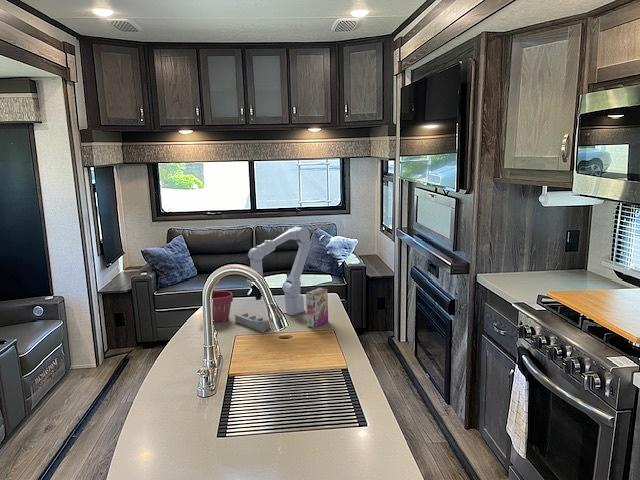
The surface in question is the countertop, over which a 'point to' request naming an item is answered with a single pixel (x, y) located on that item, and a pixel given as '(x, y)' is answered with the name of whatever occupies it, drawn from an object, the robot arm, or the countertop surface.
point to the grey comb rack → (252, 322)
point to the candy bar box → (317, 307)
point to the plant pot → (221, 305)
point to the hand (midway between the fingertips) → (258, 299)
